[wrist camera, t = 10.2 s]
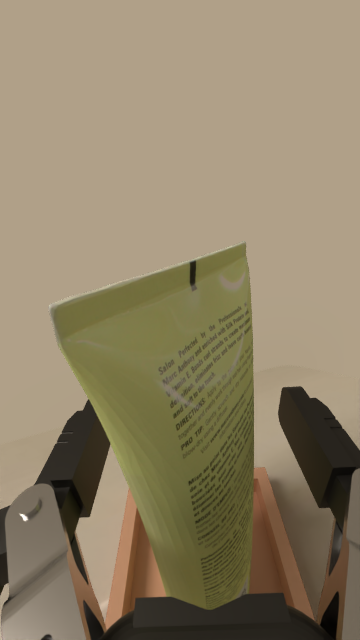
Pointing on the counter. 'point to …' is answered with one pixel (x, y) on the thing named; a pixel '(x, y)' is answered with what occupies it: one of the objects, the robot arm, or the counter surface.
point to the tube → (177, 411)
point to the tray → (266, 561)
